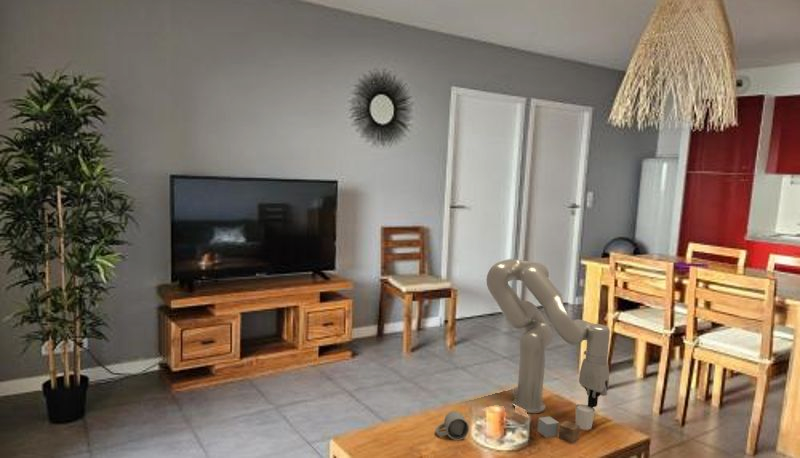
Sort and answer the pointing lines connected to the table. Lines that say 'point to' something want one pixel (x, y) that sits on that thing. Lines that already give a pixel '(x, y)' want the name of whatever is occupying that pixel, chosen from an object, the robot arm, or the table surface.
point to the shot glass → (584, 416)
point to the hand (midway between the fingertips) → (592, 406)
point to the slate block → (548, 427)
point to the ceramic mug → (454, 426)
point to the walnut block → (569, 432)
